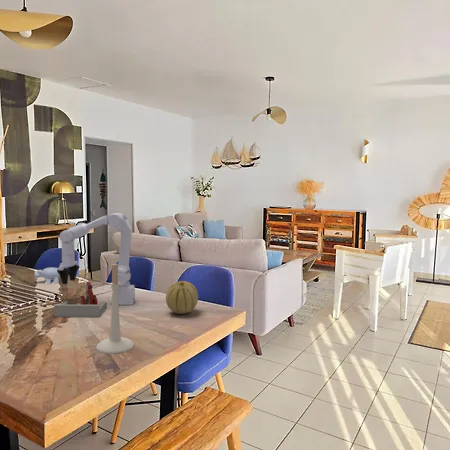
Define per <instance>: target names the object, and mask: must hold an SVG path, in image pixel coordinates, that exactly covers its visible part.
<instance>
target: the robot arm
mask: <svg viewBox="0 0 450 450" xmlns="http://www.w3.org/2000/svg"><path fill="white" fill-rule="evenodd" d="M103 225H104V226H105V225H107V226H108V225H109V226H111V227H112V228H114V229H116V231H118V232H119V233H120V242H119V253H118V263H117V264H118V282H119V283H120V284H119V288H118V291H117V292H118V303H119V305H121V306H123V305H124V306H131V305H133V304H134V303H135V301H136V287H135V284H131V282H130V280H131V278H132V274H131V270H130V268H131V267H130V254H131V246H132V236H133V228H132V226H131V224H130V222H129V220H128V217H127V216H126V215H125V214H124V213H123V212H119V211H118V212H115V213H111V214H107V215H103V216H101V217H99V218H97V219H95V220H92V221H90V222H88V223H84V222H79V223H77V225H75V226H71V227H68V229H65V230H63V231H61V232H60V234H59V240H60V241H61V263H59V266H58V268H59V269H58V270H57V272H58V273H59V275H60V276H59V277H60V281H61V284H62V285H67V284H68V283H69V282H68V280H69V281H71V282H72V281H73V282H74V281H75V280H76V278H77V273H78V271H79V269H80V265H79V264H78V261H77V260H75V253H76V252H75V240H77V239H79V238H81V237H83V236H86V235H88V234H89V232H90V230H93V229H95V228H98V227H101V226H103Z"/></svg>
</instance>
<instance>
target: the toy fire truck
mask: <svg viewBox="0 0 450 450" xmlns="http://www.w3.org/2000/svg"><path fill="white" fill-rule="evenodd" d="M80 305H98V297H97V295H96V294H94V292H93V285H92V284H91V282H90V281H86V282H85V295H81V296H80Z"/></svg>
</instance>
